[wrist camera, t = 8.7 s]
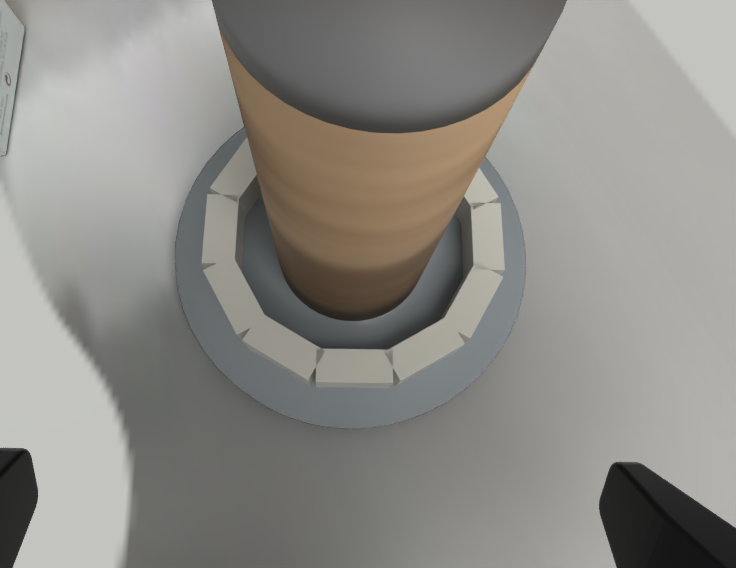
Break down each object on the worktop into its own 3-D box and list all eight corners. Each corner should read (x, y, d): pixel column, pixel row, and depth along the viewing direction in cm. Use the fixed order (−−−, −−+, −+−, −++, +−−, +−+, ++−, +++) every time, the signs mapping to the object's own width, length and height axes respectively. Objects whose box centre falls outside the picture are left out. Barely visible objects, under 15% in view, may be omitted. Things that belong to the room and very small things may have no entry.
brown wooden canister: (431, 317, 20) (603, 95, 7) (280, 325, 19) (197, 104, 7) (416, 165, 21) (538, -231, 9) (276, 169, 21) (201, -238, 8)
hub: (528, 429, 20) (555, 427, 17) (166, 427, 19) (143, 424, 17) (506, 115, 23) (527, 77, 21) (196, 102, 22) (180, 61, 20)
